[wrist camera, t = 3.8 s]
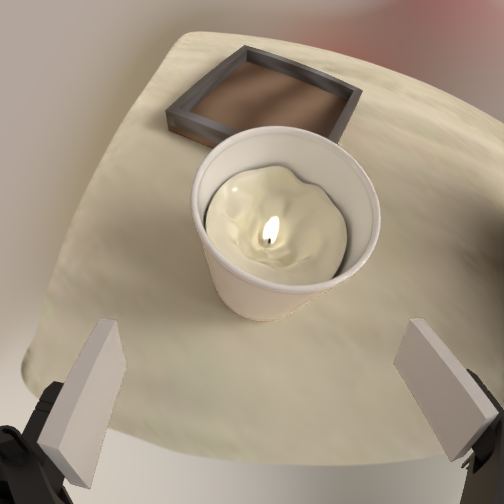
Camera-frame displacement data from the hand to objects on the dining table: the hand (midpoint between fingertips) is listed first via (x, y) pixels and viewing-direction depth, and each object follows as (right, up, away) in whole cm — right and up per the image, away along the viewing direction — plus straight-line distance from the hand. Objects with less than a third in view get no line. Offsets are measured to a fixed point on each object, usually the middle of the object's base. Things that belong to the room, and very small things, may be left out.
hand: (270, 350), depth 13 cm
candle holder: (0, +2, +14) cm, 14 cm away
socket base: (+2, +20, +21) cm, 29 cm away
